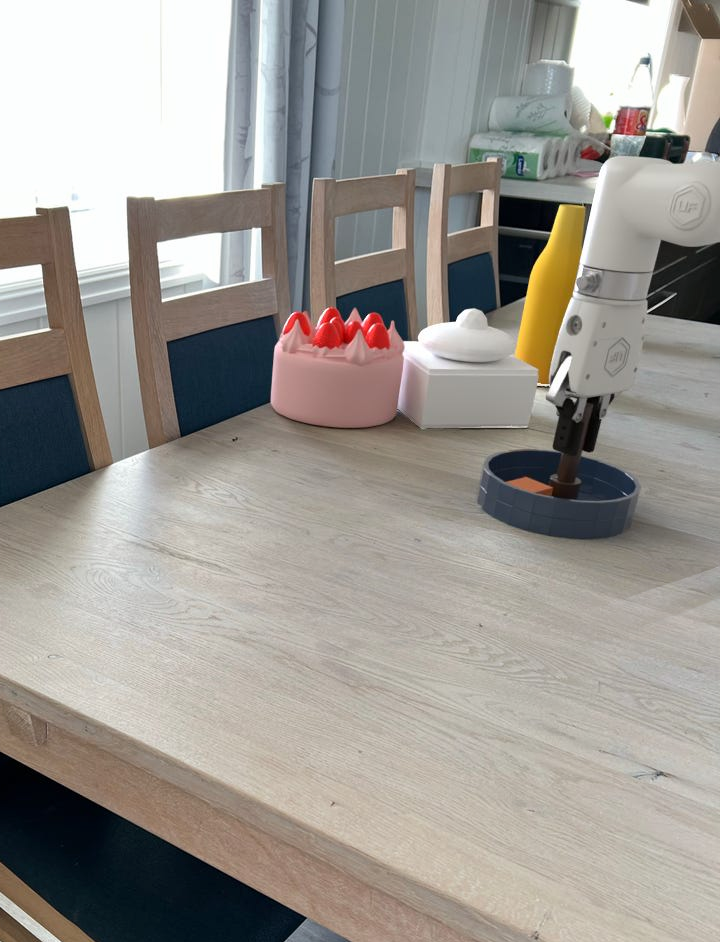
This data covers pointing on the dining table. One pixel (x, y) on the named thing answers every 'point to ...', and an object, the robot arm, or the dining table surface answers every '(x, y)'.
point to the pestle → (570, 466)
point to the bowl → (589, 517)
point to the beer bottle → (551, 291)
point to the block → (532, 486)
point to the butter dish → (465, 377)
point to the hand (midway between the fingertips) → (572, 449)
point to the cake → (337, 370)
